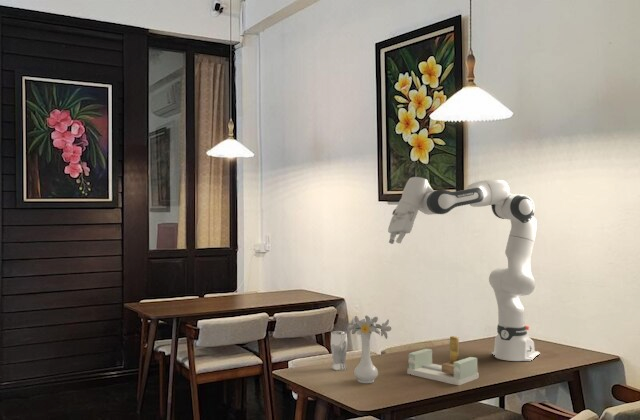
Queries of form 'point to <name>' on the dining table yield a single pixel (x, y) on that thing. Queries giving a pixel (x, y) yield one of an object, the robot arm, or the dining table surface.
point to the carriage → (452, 355)
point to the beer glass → (339, 350)
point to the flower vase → (367, 346)
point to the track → (424, 368)
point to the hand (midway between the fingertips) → (394, 243)
